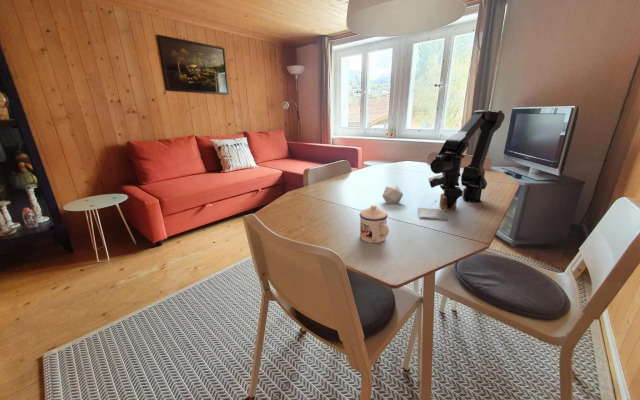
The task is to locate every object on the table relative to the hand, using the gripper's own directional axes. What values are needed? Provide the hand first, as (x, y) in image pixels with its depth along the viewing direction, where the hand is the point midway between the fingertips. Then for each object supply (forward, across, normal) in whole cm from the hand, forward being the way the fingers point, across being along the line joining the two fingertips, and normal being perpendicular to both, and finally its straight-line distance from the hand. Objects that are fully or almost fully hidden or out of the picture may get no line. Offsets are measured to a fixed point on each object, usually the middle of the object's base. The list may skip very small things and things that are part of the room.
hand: (447, 205), depth 111 cm
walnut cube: (+1, 0, 0) cm, 1 cm away
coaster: (+1, +9, -7) cm, 11 cm away
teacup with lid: (+1, +35, -27) cm, 44 cm away
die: (+1, -2, -23) cm, 23 cm away
